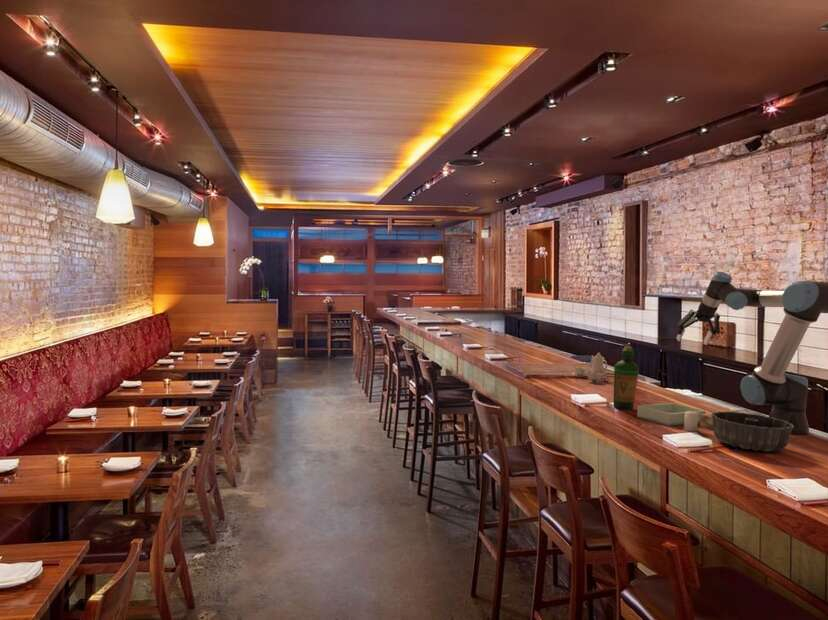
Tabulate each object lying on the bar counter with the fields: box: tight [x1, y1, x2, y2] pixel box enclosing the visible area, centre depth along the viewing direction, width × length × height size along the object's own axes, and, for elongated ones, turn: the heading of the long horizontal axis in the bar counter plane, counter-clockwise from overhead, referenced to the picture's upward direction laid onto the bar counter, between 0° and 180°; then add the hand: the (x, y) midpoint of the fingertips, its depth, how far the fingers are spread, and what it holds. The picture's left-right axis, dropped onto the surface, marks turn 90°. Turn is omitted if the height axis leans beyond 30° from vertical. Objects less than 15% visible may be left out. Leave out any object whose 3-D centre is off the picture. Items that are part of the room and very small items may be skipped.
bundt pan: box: [711, 411, 794, 453], centre depth 221 cm, size 26×26×10 cm
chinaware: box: [572, 352, 608, 384], centre depth 353 cm, size 28×17×17 cm, turn 17°
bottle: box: [613, 346, 640, 411], centre depth 275 cm, size 11×11×28 cm
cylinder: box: [683, 411, 699, 433], centre depth 241 cm, size 5×5×7 cm
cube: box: [699, 413, 714, 430], centre depth 248 cm, size 5×5×5 cm
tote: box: [636, 402, 706, 427], centre depth 257 cm, size 16×22×5 cm
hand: (691, 341), depth 290 cm, fingers open, 13 cm apart
